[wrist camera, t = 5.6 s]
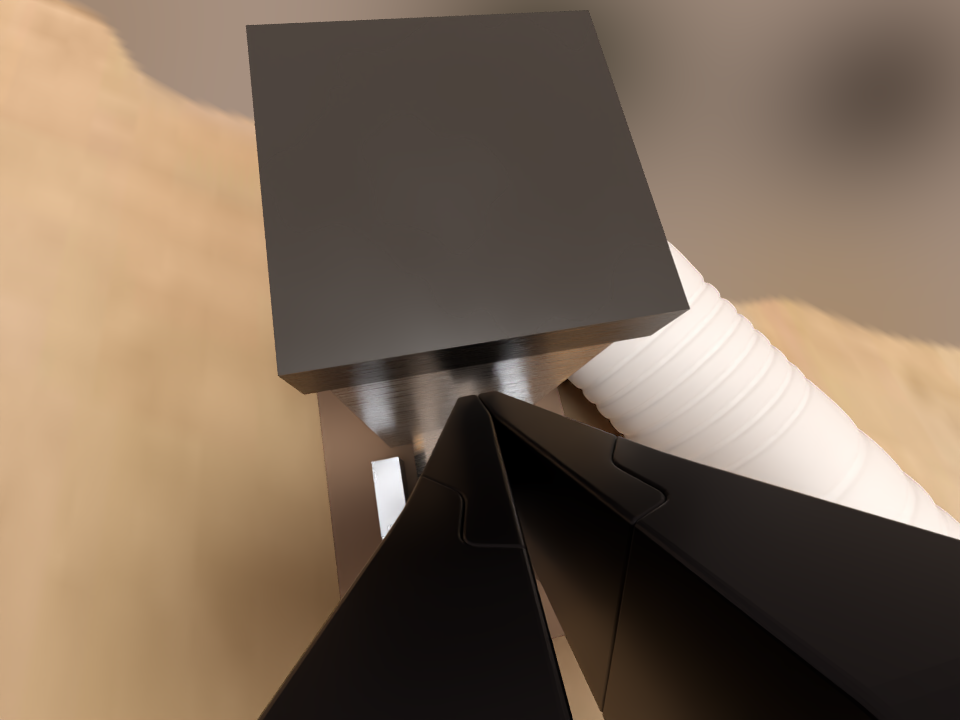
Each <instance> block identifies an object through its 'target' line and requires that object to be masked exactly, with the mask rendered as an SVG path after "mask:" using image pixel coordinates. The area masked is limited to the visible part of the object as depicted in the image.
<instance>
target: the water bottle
mask: <svg viewBox="0 0 960 720" xmlns="http://www.w3.org/2000/svg"><path fill="white" fill-rule="evenodd" d="M667 242H668V241H667ZM668 245H669V248H670V251H671V254H672V257H673V260H674V263H675V266H676V269H677V272H678V274H679V277H680V280H681V283H682V286H683V289H684V292H685V295H686V298H687V301H688V304H689V307H690V310H688V311H687V312H685V313H684V314H682V315H681V316H679V317H678V318H676V319H675V320H673V321H672V322H670V323H669V324H667V325H666V326H664V327H663V328H661V329H660V330H659V331H657V332H656V333H654V334H653V335H651V336H647V337H641V338H635V339H629V340H623V341H617V342H614V343H612V344H611V345H610V346H608V347H607V348H606V349H605V350H603V351H602V352H601V353H599V354H598V355H597V356H596V357H594V358H593V359H592V360H590V361H589V362H588V363H587V364H585V365H584V366H583V367H581V368H580V369H579V370H578V371H576V372H575V373H574V374H572V375H571V376H570V377H569V378H567V379H568V380H569V381H570V382H571V383H572V384H574V385H575V386H576V387H577V388H580V389H582V390H583V394H584V396H585V397H586V398H587V399H588V400H589V401H590V402H591V403H594V404H596V407H597V409H598V411H599V412H600V413H601V414H602V415H603V416H604V417H605V418H608V419H610V422H611V424H612V425H613V427H614V428H615V429H616V430H617V431H618V432H620V433H621V434H624V437H625V438H626V439H628V440H631V441H634V442H636V443H639V444H642V445H645V446H648V447H651V448H653V449H656V450H659V451H662V452H665V453H668V454H672V455H675V456H678V457H681V458H685V459H688V460H691V461H694V462H698V463H701V464H704V465H708V466H711V467H715V468H718V469H721V470H725V471H728V472H732V473H735V474H738V475H742V476H745V477H749V478H752V479H755V480H759V481H762V482H766V483H769V484H772V485H776V486H779V487H783V488H786V489H789V490H793V491H796V492H799V493H803V494H806V495H810V496H813V497H816V498H820V499H823V500H827V501H830V502H833V503H837V504H840V505H844V506H847V507H850V508H854V509H857V510H861V511H864V512H867V513H871V514H874V515H878V516H881V517H884V518H888V519H891V520H894V521H898V522H901V523H905V524H908V525H911V526H915V527H918V528H922V529H925V530H928V531H932V532H935V533H939V534H942V535H945V536H949V537H952V538H956V539H959V540H960V523H959V522H958V521H956V520H955V519H954V518H953V517H952V516H951V515H950V514H949V513H947V512H946V511H945V510H944V509H942V508H941V507H939V506H938V505H936V504H935V503H934V501H933V499H932V498H931V496H930V495H929V494H928V493H927V492H926V491H925V489H924V488H923V487H922V486H921V485H919V484H918V483H917V482H916V481H915V480H914V479H913V478H911V477H910V476H909V475H908V474H906V473H905V472H903V471H902V470H901V468H900V467H899V466H898V464H897V463H896V462H895V461H894V460H893V459H892V458H891V457H890V456H889V455H888V454H887V453H886V452H885V451H884V450H883V449H882V448H881V447H880V446H879V445H878V444H877V443H876V442H875V441H874V440H873V439H871V438H870V437H869V436H868V435H867V434H865V433H864V432H863V431H861V430H860V429H858V428H857V426H856V425H855V423H854V422H853V421H852V419H851V418H850V417H849V416H848V415H847V414H846V413H845V412H844V411H843V410H842V409H841V408H840V407H839V406H838V405H837V404H836V403H835V402H834V401H833V400H832V399H831V398H829V397H828V396H827V395H826V394H825V393H824V392H823V391H821V390H820V389H819V388H818V387H817V386H816V385H815V384H814V383H812V382H811V381H810V380H808V379H807V378H805V376H804V374H803V373H802V372H801V371H800V369H799V368H797V367H796V366H795V365H794V364H792V363H791V362H790V361H788V360H787V358H786V356H785V355H784V354H783V353H782V352H781V351H780V350H779V349H777V348H776V347H775V346H773V345H771V344H770V341H769V340H768V339H767V338H766V336H765V335H763V334H762V333H761V332H760V331H758V330H756V329H754V328H753V325H752V323H751V322H750V321H749V320H748V319H747V318H746V317H745V316H743V315H741V314H737V310H736V308H735V307H734V306H733V304H732V303H730V302H729V301H728V300H726V299H724V298H720V293H719V291H718V290H717V289H716V288H715V287H714V286H713V285H711V284H709V283H705V282H704V279H703V276H702V275H701V274H700V273H699V271H698V270H697V269H696V268H695V267H693V265H691V263H690V262H689V261H688V260H687V259H686V258H685V257H684V255H683V254H681V253H680V252H679V251H678V250H677V249H676V248H675V247H674V246H673V245H672V244H671V243H669V242H668Z"/></svg>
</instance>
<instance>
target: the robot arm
mask: <svg viewBox="0 0 960 720" xmlns="http://www.w3.org/2000/svg"><path fill="white" fill-rule="evenodd" d="M531 563H532V564H531ZM532 565H533V567H534V570H535V572H536V574H537V576H538V578H539V580H540V582H541V585H542V587H543V589H544V591H545V593H546V595H547V597H548V600H549V602H550V604H551V606H552V608H553V610H554V612H555V615H556V617H557V619H558V621H559V623H560V625H561V628H562V630H563V632H564V634H565V636H566V638H567V640H568V643H569V645H570V647H571V649H572V651H573V653H574V655H575V658H576V660H577V662H578V664H579V666H580V668H581V670H582V673H583V675H584V677H585V679H586V681H587V683H588V685H589V688H590V690H591V692H592V694H593V696H594V698H595V701H596V703H597V705H598V707H599V709H600V711H601V712H603V718H604V720H960V540H959V539H956V538H952V537H949V536H945V535H942V534H939V533H935V532H932V531H928V530H925V529H922V528H918V527H915V526H911V525H908V524H905V523H901V522H898V521H894V520H891V519H888V518H884V517H881V516H878V515H874V514H871V513H867V512H864V511H861V510H857V509H854V508H850V507H847V506H844V505H840V504H837V503H833V502H830V501H827V500H823V499H820V498H816V497H813V496H810V495H806V494H803V493H799V492H796V491H793V490H789V489H786V488H783V487H779V486H776V485H772V484H769V483H766V482H762V481H759V480H755V479H752V478H749V477H745V476H742V475H738V474H735V473H732V472H728V471H725V470H721V469H718V468H715V467H711V466H708V465H704V464H701V463H698V462H694V461H691V460H688V459H685V458H681V457H678V456H675V455H672V454H668V453H665V452H662V451H659V450H656V449H653V448H651V447H648V446H645V445H642V444H639V443H636V442H634V441H631V440H628V439H626V438H623V437H620V436H618V437H616V436H615V435H613V434H610V433H608V432H605V431H602V430H600V429H597V428H594V427H592V426H589V425H586V424H584V423H581V422H578V421H576V420H573V419H570V418H568V417H565V416H562V415H560V414H557V413H554V412H552V411H549V410H546V409H544V408H541V407H538V406H536V405H533V404H530V403H528V402H525V401H522V400H520V399H517V398H514V397H512V396H509V395H506V394H504V393H501V392H498V391H490V392H484V393H480V394H479V395H478V396H477V395H475V394H473V395H468V396H462V397H459V398H458V399H457V401H456V403H455V405H454V407H453V409H452V411H451V413H450V415H449V417H448V420H447V422H446V424H445V426H444V428H443V430H442V432H441V434H440V436H439V438H438V441H437V443H436V445H435V447H434V449H433V451H432V453H431V455H430V457H429V459H428V462H427V464H426V466H425V468H424V470H423V472H422V474H421V476H420V478H419V479H418V481H417V483H416V485H415V488H414V490H413V492H412V494H411V495H410V497H409V499H408V501H407V503H406V505H405V506H404V508H403V510H402V511H401V513H400V515H399V516H398V518H397V519H396V521H395V522H394V524H393V525H392V527H391V528H390V530H389V531H388V533H387V534H386V536H385V537H384V539H383V540H382V541H381V543H380V544H379V546H378V547H377V549H376V550H375V552H374V553H373V554H372V556H371V557H370V559H369V560H368V562H367V563H366V564H365V566H364V567H363V569H362V570H361V572H360V573H359V574H358V576H357V577H356V579H355V580H354V582H353V583H352V585H351V586H350V587H349V589H348V590H347V592H346V593H345V595H344V596H343V597H342V599H341V600H340V602H339V603H338V605H337V606H336V608H335V609H334V610H333V612H332V613H331V615H330V616H329V618H328V619H327V620H326V622H325V623H324V625H323V626H322V628H321V629H320V630H319V632H318V633H317V635H316V636H315V638H314V639H313V641H312V642H311V643H310V645H309V646H308V648H307V649H306V651H305V652H304V653H303V655H302V656H301V658H300V659H299V661H298V662H297V664H296V665H295V666H294V668H293V669H292V671H291V672H290V674H289V675H288V676H287V678H286V679H285V681H284V682H283V684H282V685H281V686H280V688H279V689H278V691H277V692H276V694H275V695H274V697H273V698H272V699H271V701H270V702H269V704H268V705H267V707H266V708H265V709H264V711H263V712H262V714H261V715H260V717H259V718H258V720H573V718H572V714H571V710H570V706H569V703H568V699H567V695H566V691H565V688H564V684H563V680H562V676H561V673H560V669H559V665H558V661H557V658H556V654H555V650H554V646H553V643H552V639H551V635H550V631H549V628H548V624H547V620H546V616H545V612H544V609H543V605H542V601H541V597H540V594H539V590H538V586H537V582H536V579H535V575H534V571H533V567H532Z"/></svg>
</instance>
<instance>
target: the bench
mask: <svg viewBox="0 0 960 720" xmlns="http://www.w3.org/2000/svg"><path fill="white" fill-rule="evenodd" d="M317 396H318V405H319V414H320V422H321V431H322V440H323V449H324V458H325V467H326V476H327V485H328V493H329V502H330V511H331V520H332V529H333V538H334V547H335V556H336V564H337V573H338V582H339V591H340V600H341V599H342V597H343V596H344V595H345V593H346V592H347V590H348V589H349V587H350V586H351V585H352V583H353V582H354V580H355V579H356V577H357V576H358V574H359V573H360V572H361V570H362V569H363V567H364V566H365V564H366V563H367V562H368V560H369V559H370V557H371V556H372V554H373V553H374V552H375V550H376V549H377V547H378V546H379V544H380V543H381V541H382V536H381V529H380V521H379V514H378V507H377V500H376V492H375V485H374V478H373V471H372V463H371V462H374V461H379V460H384V459H389V458H394V457H399V458H400V459H401V460H403V462H404V468H405V475H406V481H407V488H408V494H409V497H410V495H411V494H412V492H413V490H414V488H415V485H416V483H417V481H418V477H417V471H416V464H415V458H414V452H413V446H412V444H407V445H402V446H397V447H392V448H390V447H389V446H388V445H387V444H386V443H385V442H384V441H383V440H382V439H381V438H380V437H379V436H378V435H377V434H376V433H375V432H374V431H372V430H371V429H370V428H369V427H368V426H367V425H366V424H365V423H364V422H363V421H362V420H361V419H360V418H359V417H358V416H357V415H356V414H355V413H354V412H353V411H352V410H350V409H349V408H348V407H347V406H346V405H345V404H344V403H343V402H342V401H341V400H340V399H339V398H338V397H337V396H336V395H335V394H334V393H333V392H332V391H331V390H328V391H322V392H317ZM534 405H536V406H538V407H541V408H544V409H546V410H549V411H552V412H554V413H557V414H560V415H562V416H565V415H564V411H563V407H562V403H561V399H560V395H559V391H558V387H556V388H554V389H553V390H552V391H551V392H549V393H548V394H547V395H545V396H544V397H543V398H542V399H540V400H539V401H538V402H536V403H535V404H534ZM535 579H536V578H535ZM536 582H537V586H538V590H539V594H540V597H541V601H542V605H543V609H544V612H545V616H546V620H547V624H548V628H549V631H550V635H551V639H552V638H556V637H559V636H563V635H565V634H564V632H563V630H562V628H561V625H560V623H559V621H558V619H557V617H556V615H555V612H554V610H553V608H552V606H551V604H550V602H549V600H548V597H547V595H546V593H545V591H544V589H543V587H542V585H541V582H540V581H538V580H537V579H536Z"/></svg>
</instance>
